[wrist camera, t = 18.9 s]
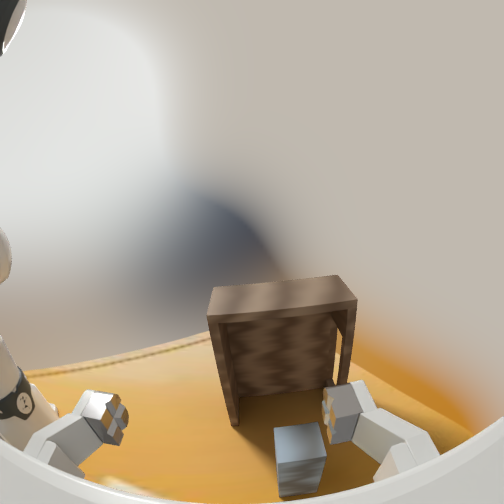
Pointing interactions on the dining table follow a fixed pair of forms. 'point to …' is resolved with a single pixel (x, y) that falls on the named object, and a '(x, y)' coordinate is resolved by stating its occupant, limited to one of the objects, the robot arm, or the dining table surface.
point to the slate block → (299, 458)
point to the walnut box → (280, 336)
